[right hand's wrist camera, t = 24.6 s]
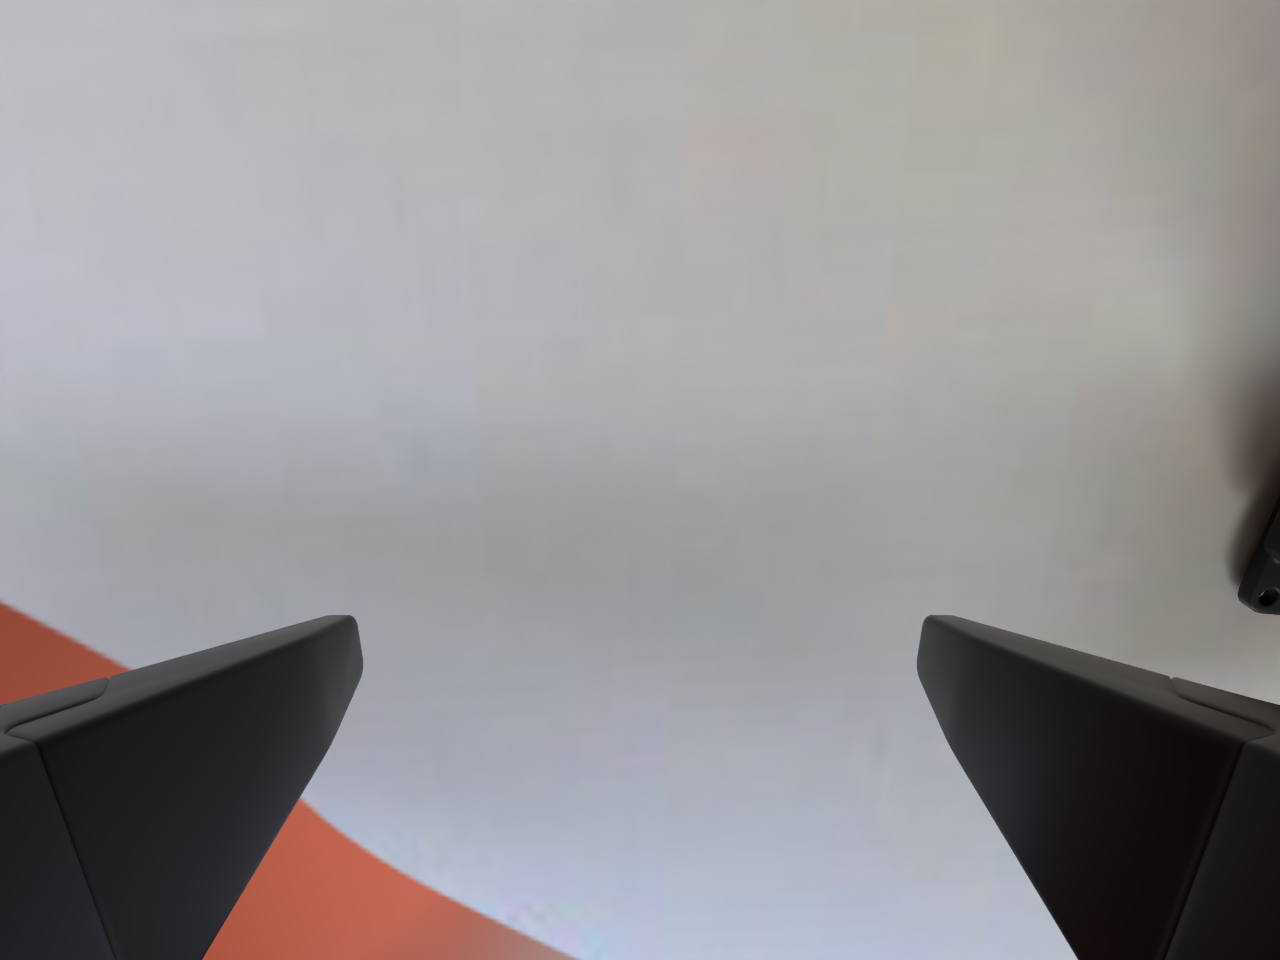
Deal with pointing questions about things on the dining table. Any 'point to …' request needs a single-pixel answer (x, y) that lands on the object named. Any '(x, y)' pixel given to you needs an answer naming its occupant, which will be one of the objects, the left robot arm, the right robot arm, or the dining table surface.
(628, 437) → the dining table surface
